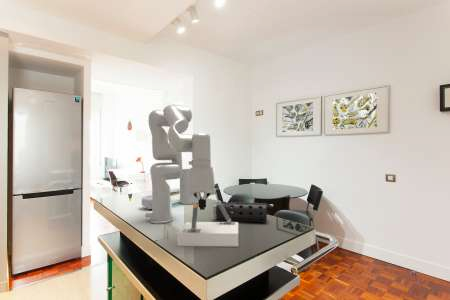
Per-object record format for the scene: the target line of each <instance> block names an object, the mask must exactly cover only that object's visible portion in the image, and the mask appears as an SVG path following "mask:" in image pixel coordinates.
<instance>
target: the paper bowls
mask: <svg viewBox="0 0 450 300" xmlns="http://www.w3.org/2000/svg"><path fill="white" fill-rule="evenodd" d="M141 206H143V207H144V208H145V209H146V208H147V209H152V194H151V195H144V196H142V197H141ZM147 209H146V210H147Z"/></svg>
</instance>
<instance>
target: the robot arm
mask: <svg viewBox="0 0 450 300" xmlns="http://www.w3.org/2000/svg"><path fill="white" fill-rule="evenodd" d="M192 119H193V113H192V110H191V109H190V108H189V107H188V106H183V105H182V106H181V105H174V104H171V105H170V104H169V105H167V106H165V107H164V108H163V110H162V109H160V110H159V109H157V110H152V111H151V112H149V114H148V128H149V131H150V134H151V147H152V152H151V153H152V157H153V159H154V160H156V161H170V162H157V163H153V164H152V165H150V169H149V172H150V178H151V179H150V180H151V191H152V194H151V195H152V210H151V212H146V213H145V215H144V217H145V218H149V223H150V222H151V224H155V225H156V224H157V225H159V224H167V223H168V224H169V223H171V222H173V221H174V217H173V216H171V187H170V185H169V184H168V182H167V181H168V180H169V181H170V180H180V177H181V176H182V169H183V156H182V155H183V153H191V160H190V161H188V165H189V166H190V165H191V167H190V168H189V169H190V173H189V195H193V196H195V197H196V198H197V203H198V208H199V210H200V211H201V210H202V211H204V210H205V209H206V208H207V199H208V198H209V197H210V196H213V195H215V194H216V190H215V174H214V169H213V167H212V160H211V154H212V153H211V136H210V135H209V134H208V133H194V134H186V133H185V132H186V131H187V130H188V128H189V125H190V124H189V123H190V122H191V121H192ZM164 127H166V128H167V127H168V131H166V130H165V128H164ZM183 133H185V134H183ZM202 193H203V197H202Z"/></svg>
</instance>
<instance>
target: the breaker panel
mask: <svg viewBox="0 0 450 300" xmlns="http://www.w3.org/2000/svg"><path fill="white" fill-rule="evenodd" d="M196 226H197V227H196V229H195V231H191V228H192V221H186V222H185V223H184V224H183V225H182V227H181V228H180V229H179V231H178V232H177V234H176V235H177V236H176V237H177V240H176V241H177V247H239V222H238V221H231V223H230V224H228V223H227V221H197V222H196Z"/></svg>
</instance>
